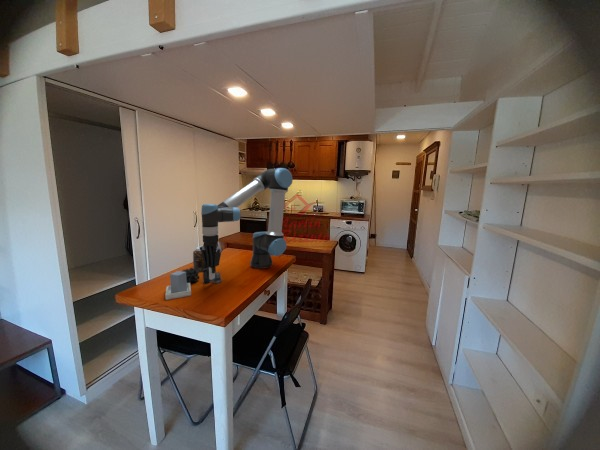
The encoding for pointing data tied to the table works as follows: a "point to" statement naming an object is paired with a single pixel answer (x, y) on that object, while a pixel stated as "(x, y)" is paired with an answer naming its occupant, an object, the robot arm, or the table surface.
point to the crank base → (217, 281)
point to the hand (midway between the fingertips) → (212, 278)
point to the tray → (178, 294)
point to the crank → (206, 276)
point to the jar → (198, 260)
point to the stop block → (178, 282)
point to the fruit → (191, 275)
